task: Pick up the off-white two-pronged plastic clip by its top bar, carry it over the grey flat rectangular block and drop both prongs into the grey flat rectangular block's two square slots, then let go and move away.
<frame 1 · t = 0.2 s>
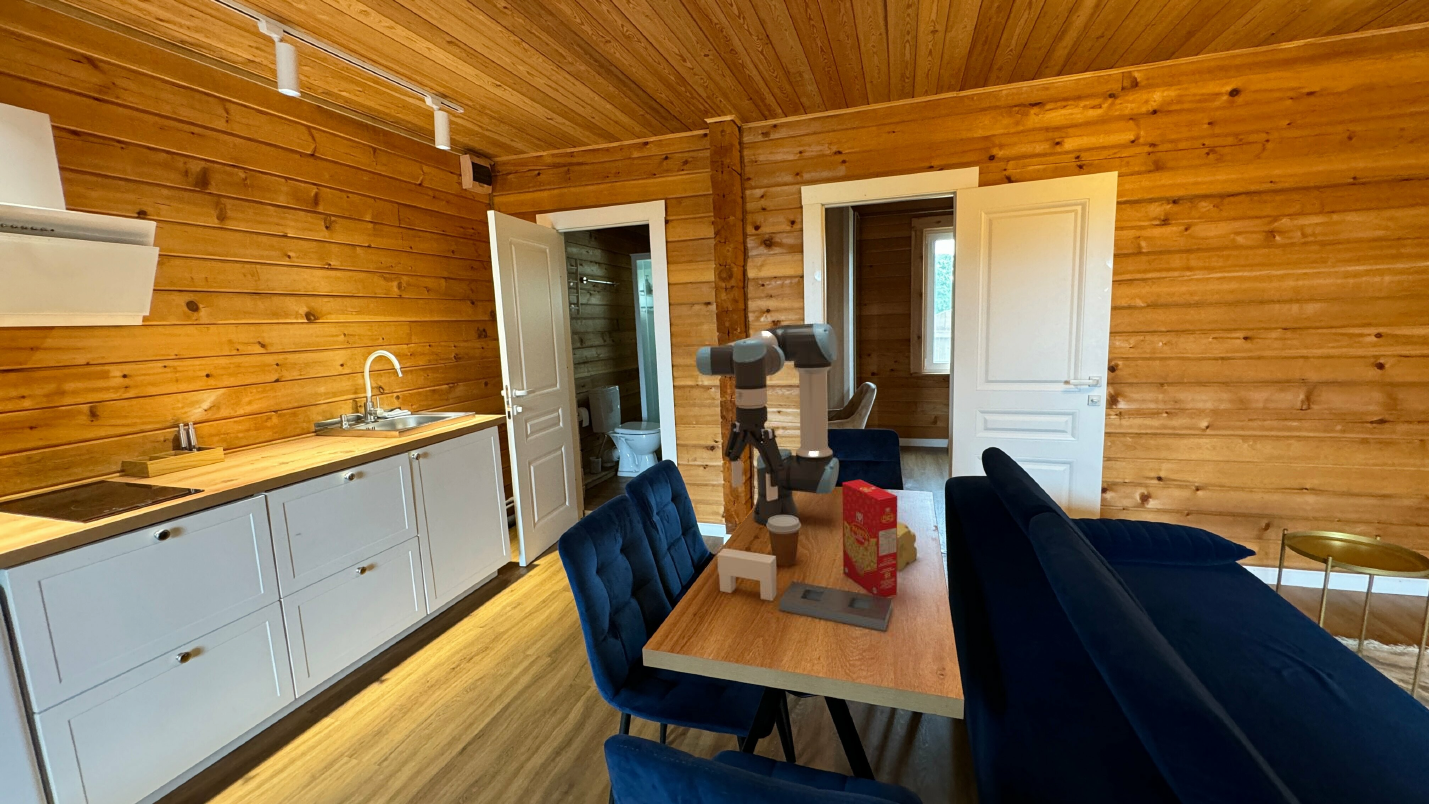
hand: (754, 492, 134), 26 cm above the table, fingers open, 13 cm apart
clip: (747, 592, 139), on the table
grey flat rectangular block: (835, 609, 129), on the table
disposable coffee cup: (784, 561, 155), on the table
food packaging: (868, 584, 140), on the table
cheese: (889, 561, 152), on the table
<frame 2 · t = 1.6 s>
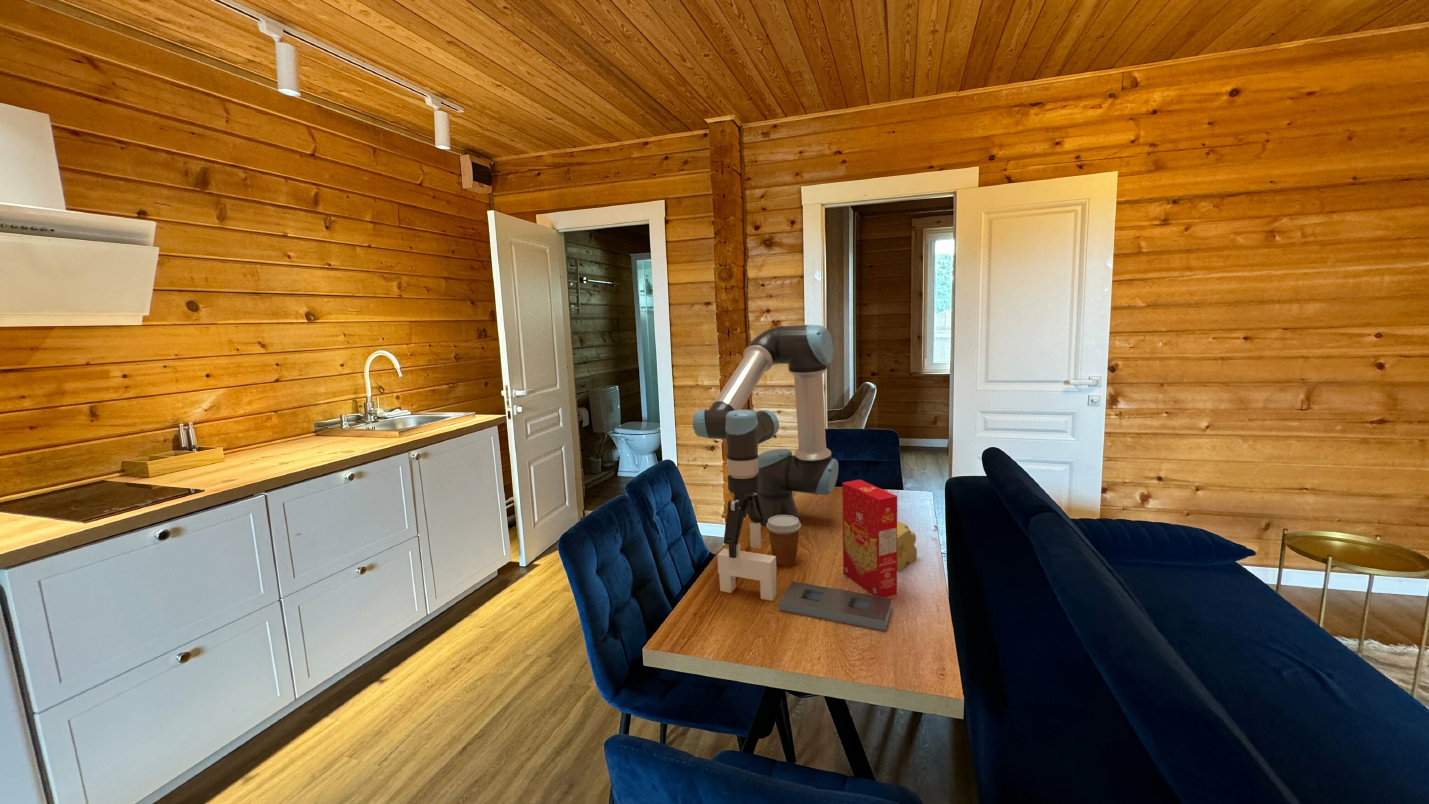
hand: (745, 557, 137), 9 cm above the table, fingers open, 13 cm apart
nothing on the table moved.
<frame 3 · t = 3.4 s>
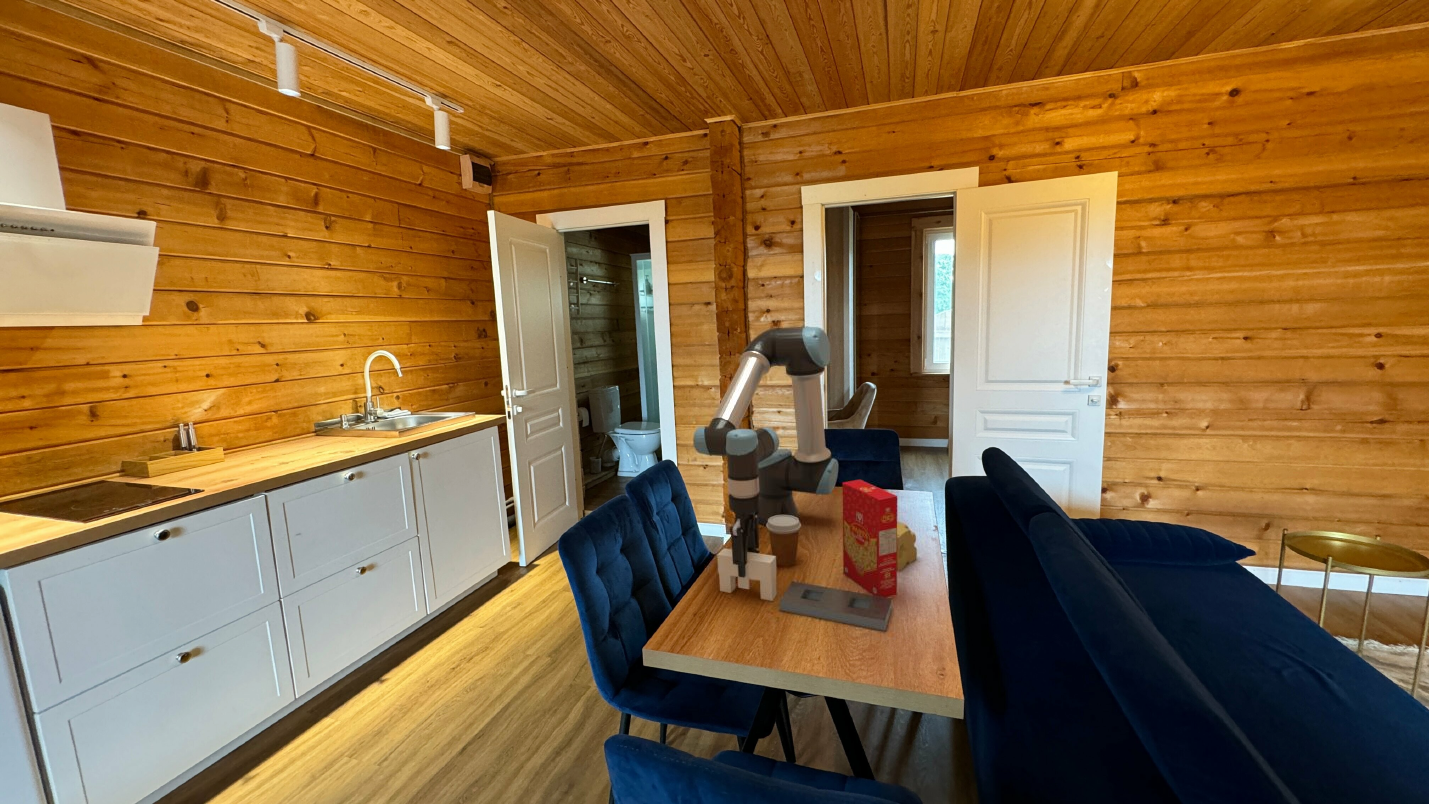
hand: (747, 583, 138), 3 cm above the table, fingers closed on clip, 4 cm apart
clip: (747, 592, 139), on the table, touching gripper
everything else where it was.
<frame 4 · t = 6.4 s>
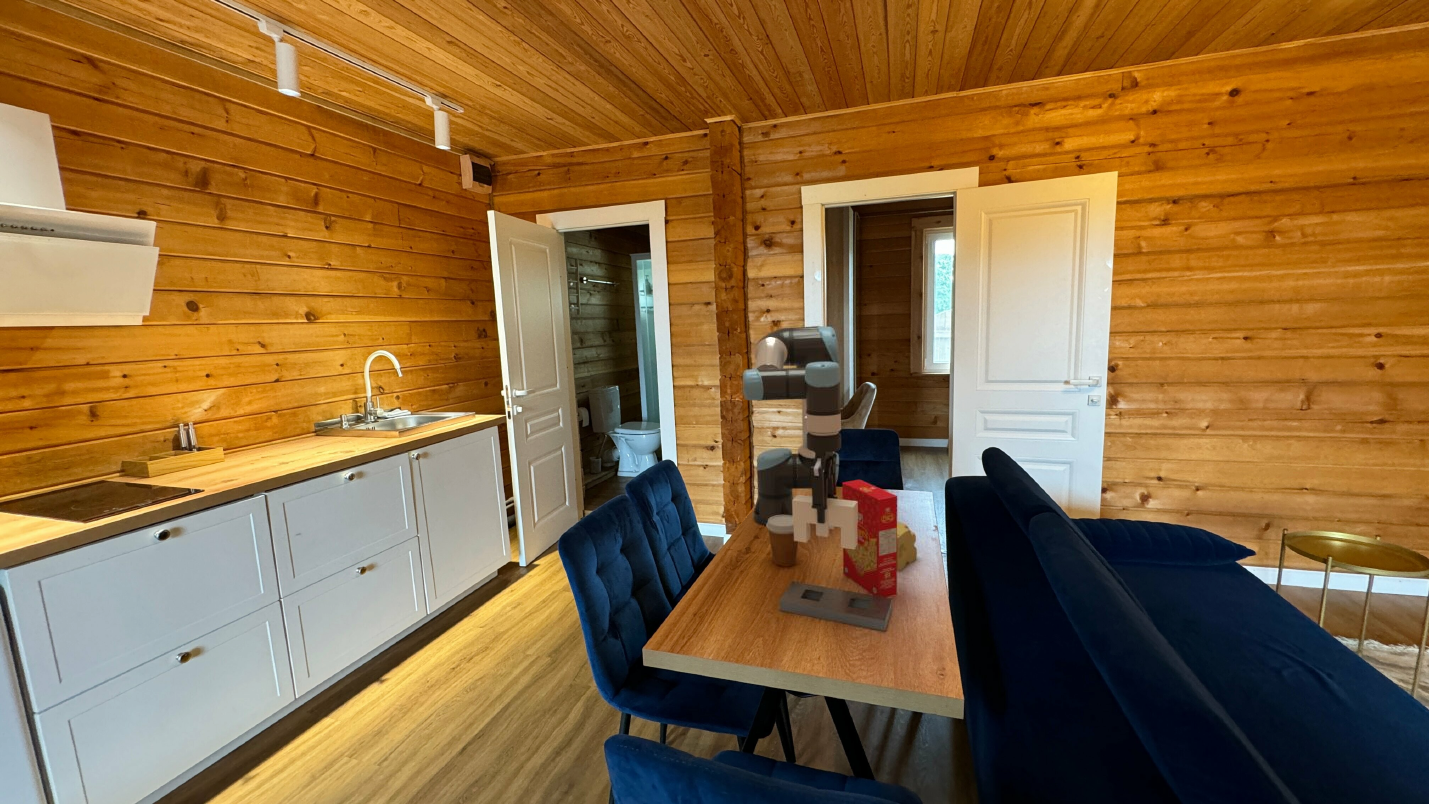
hand: (825, 531, 127), 19 cm above the table, fingers closed on clip, 4 cm apart
clip: (825, 542, 127), point 16 cm above the table, touching gripper
everything else where it was.
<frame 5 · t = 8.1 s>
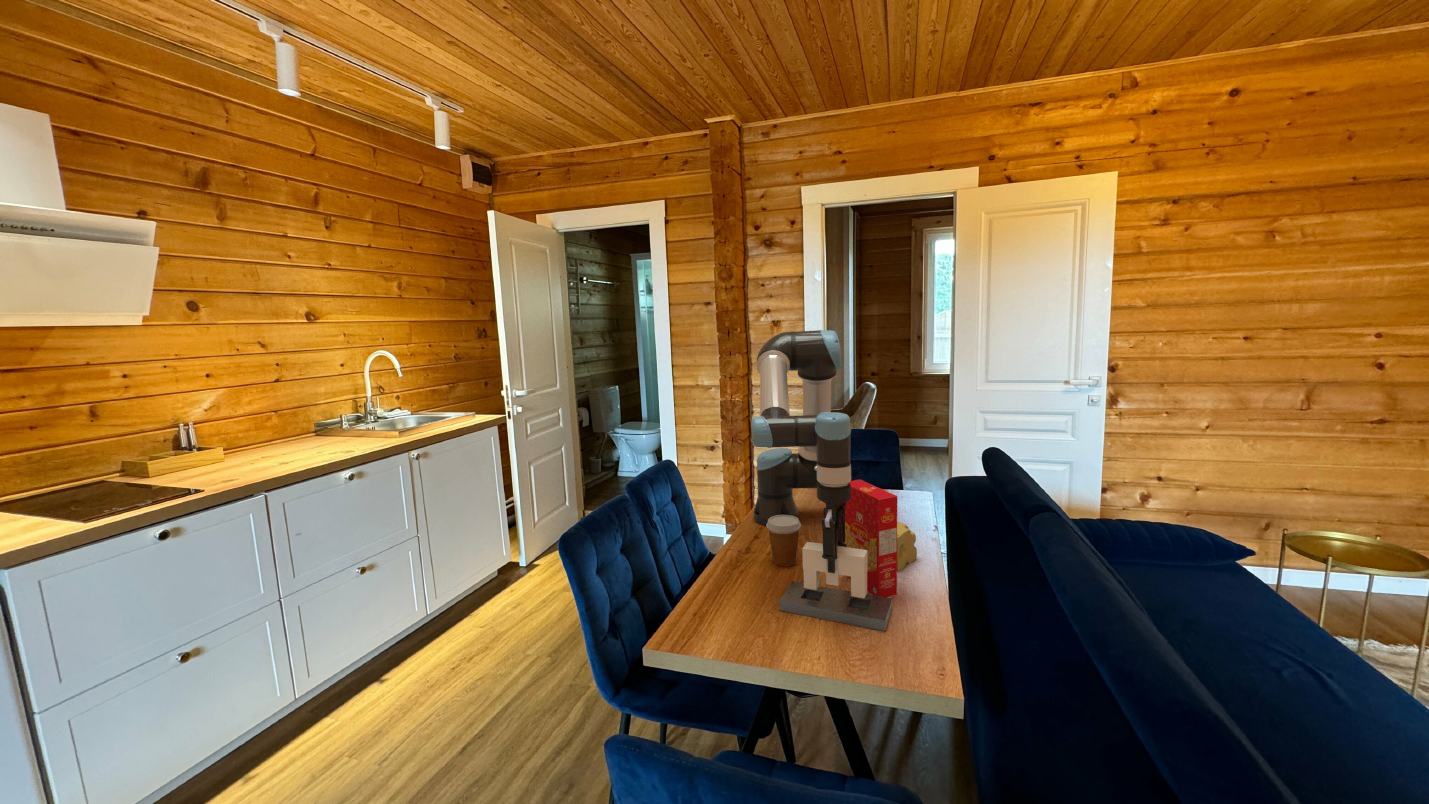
hand: (835, 579, 128), 8 cm above the table, fingers closed on clip, 4 cm apart
clip: (835, 590, 128), point 5 cm above the table, touching gripper
everything else where it was.
when the fingers open (4 cm above the table, at t = 9.4 s): clip drops 1 cm, resting in grey flat rectangular block.
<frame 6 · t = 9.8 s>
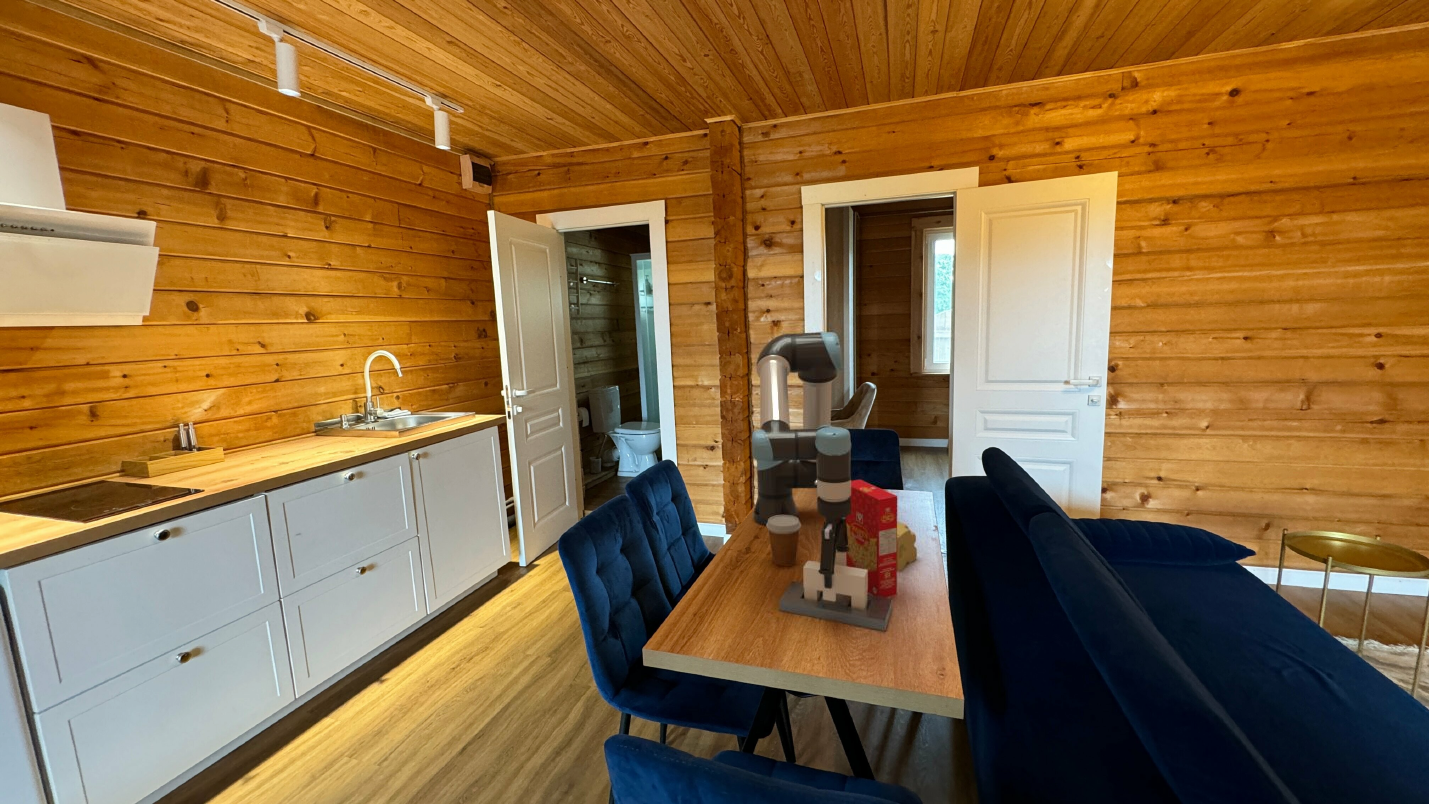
hand: (835, 588, 128), 5 cm above the table, fingers open, 10 cm apart
clip: (835, 609, 129), resting in grey flat rectangular block
everything else where it was.
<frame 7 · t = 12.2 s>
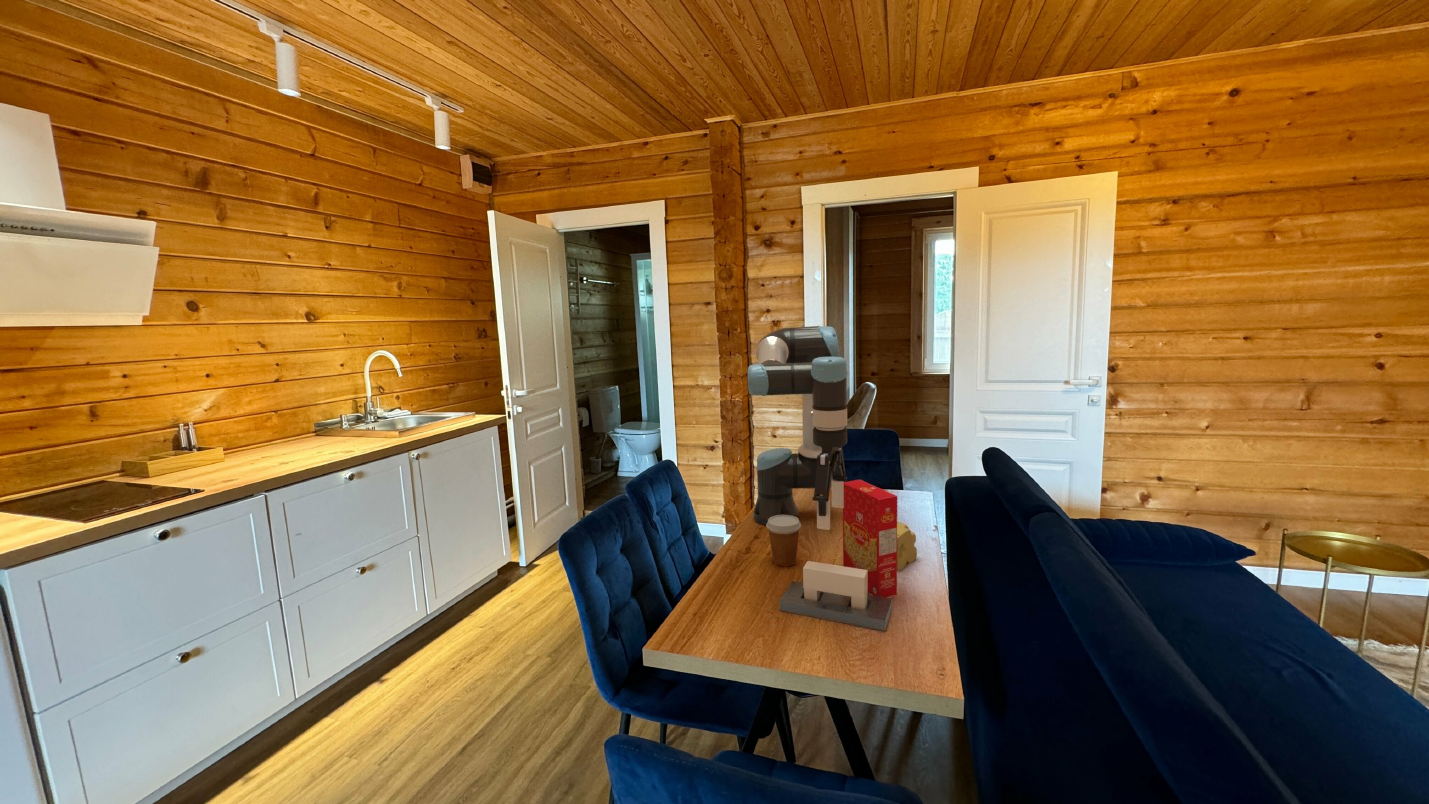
hand: (831, 517, 127), 22 cm above the table, fingers open, 13 cm apart
nothing on the table moved.
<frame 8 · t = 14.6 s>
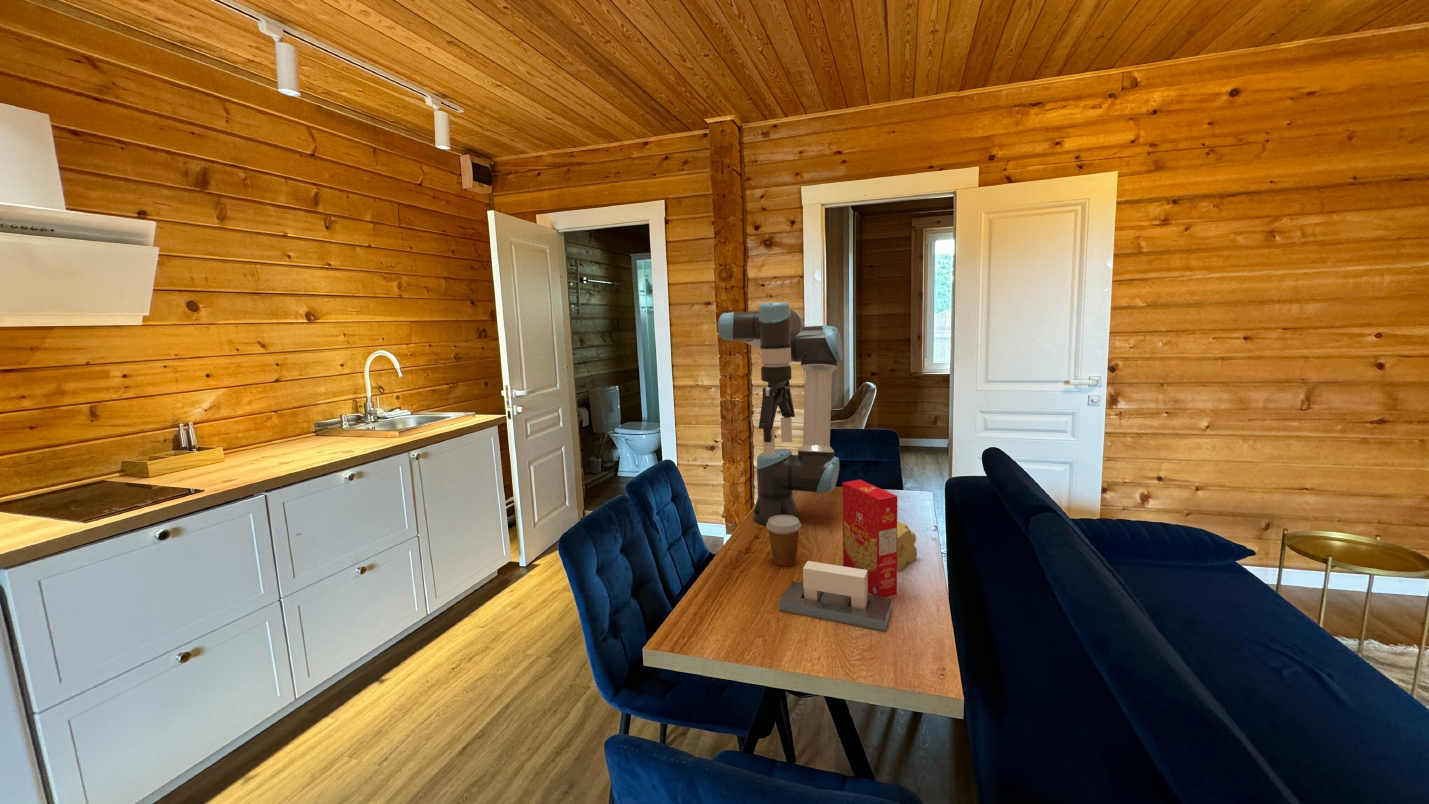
hand: (778, 447, 142), 35 cm above the table, fingers open, 13 cm apart
nothing on the table moved.
at the end: clip 0.1 cm off-centre on the grey flat rectangular block, point 0.0 cm above the grey flat rectangular block's base; clip tilted 0°; the gripper is holding nothing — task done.
